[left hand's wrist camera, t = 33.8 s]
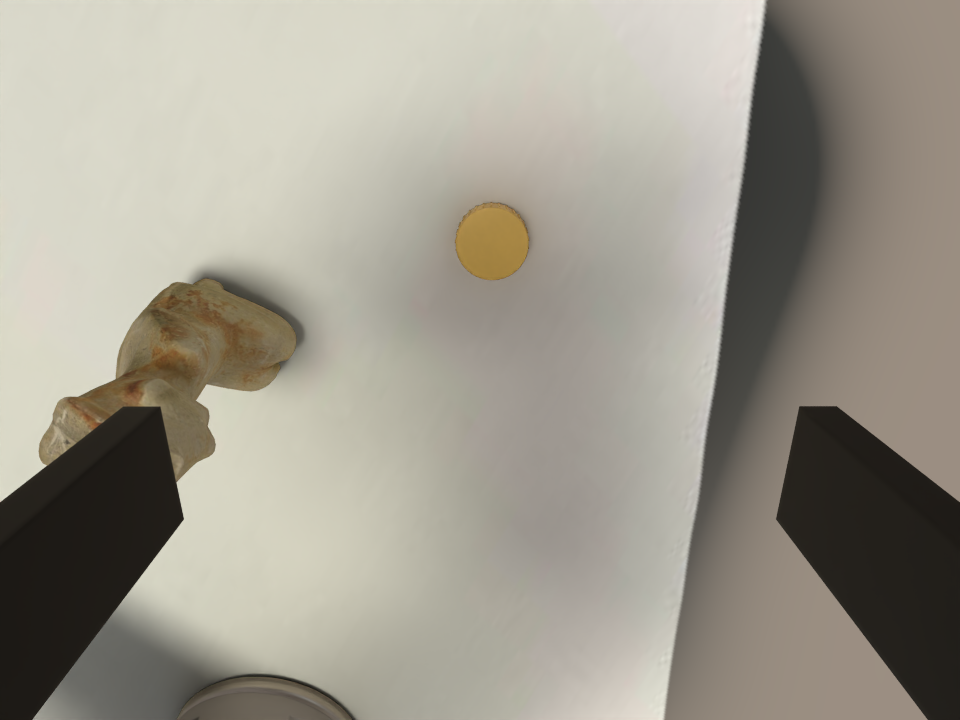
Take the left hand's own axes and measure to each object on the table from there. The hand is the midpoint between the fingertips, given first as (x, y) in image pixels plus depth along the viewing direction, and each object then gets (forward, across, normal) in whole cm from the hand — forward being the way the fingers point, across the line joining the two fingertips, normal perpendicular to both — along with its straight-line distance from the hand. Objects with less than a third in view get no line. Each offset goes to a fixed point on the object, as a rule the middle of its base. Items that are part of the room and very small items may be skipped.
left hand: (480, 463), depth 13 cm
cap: (+22, -1, -1) cm, 22 cm away
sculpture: (+23, +14, +4) cm, 28 cm away
